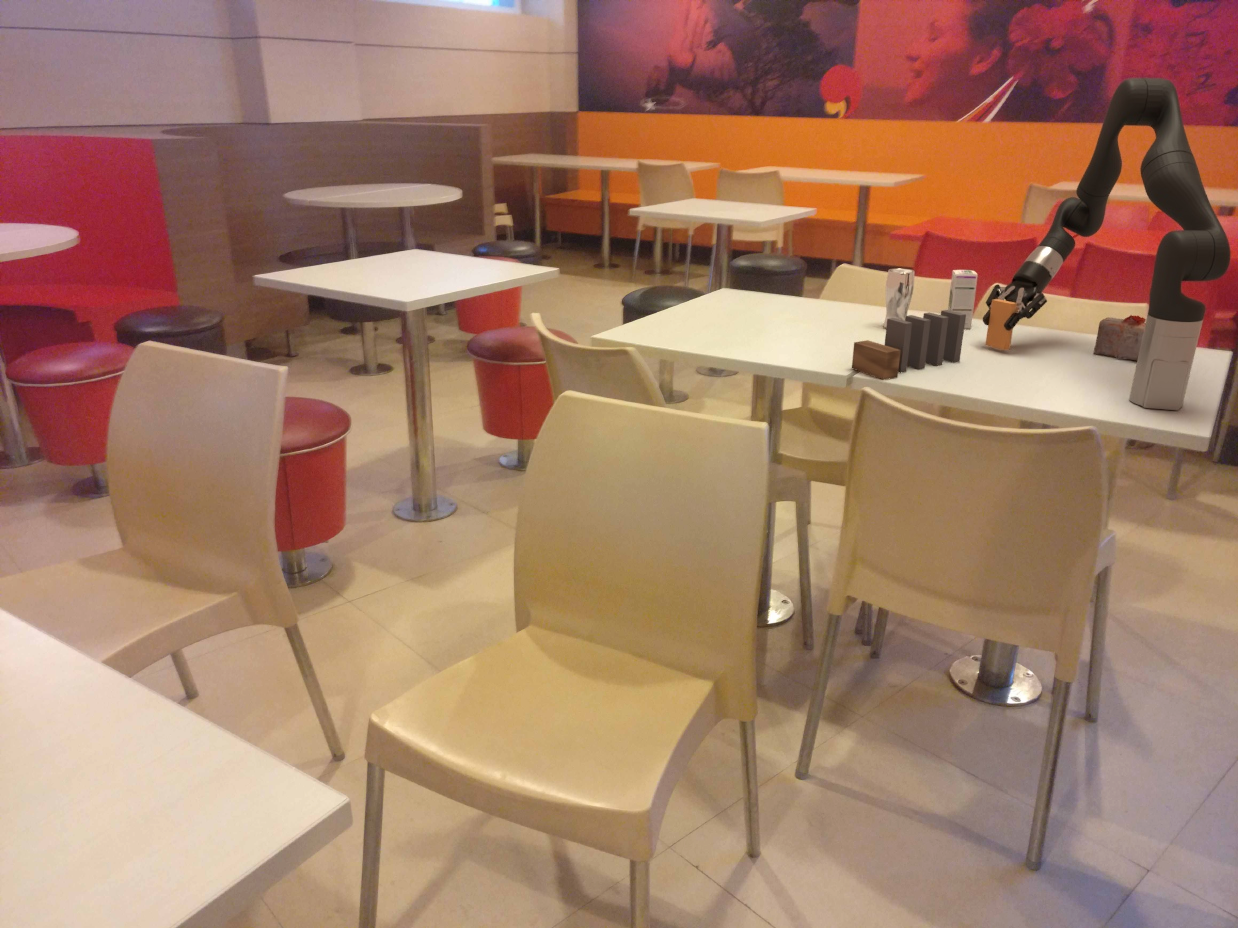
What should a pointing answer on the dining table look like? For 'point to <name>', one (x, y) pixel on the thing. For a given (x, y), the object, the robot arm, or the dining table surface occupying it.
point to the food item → (1120, 337)
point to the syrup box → (963, 294)
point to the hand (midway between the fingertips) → (995, 325)
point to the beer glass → (898, 293)
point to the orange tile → (1000, 324)
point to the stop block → (876, 359)
